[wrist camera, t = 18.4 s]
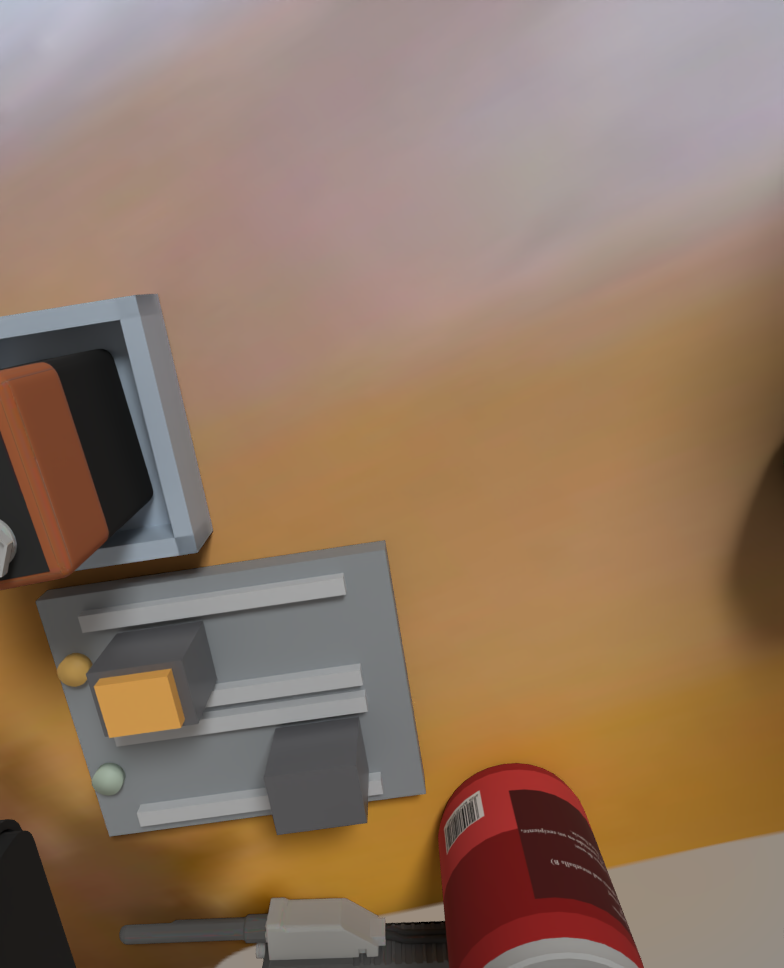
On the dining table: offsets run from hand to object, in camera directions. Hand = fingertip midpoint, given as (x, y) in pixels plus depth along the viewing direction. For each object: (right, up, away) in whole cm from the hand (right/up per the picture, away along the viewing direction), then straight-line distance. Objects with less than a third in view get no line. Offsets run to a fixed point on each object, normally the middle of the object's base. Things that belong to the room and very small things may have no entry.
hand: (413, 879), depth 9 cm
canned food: (+6, -13, +29) cm, 32 cm away
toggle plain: (-4, -8, +26) cm, 27 cm away
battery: (-13, +7, +22) cm, 27 cm away
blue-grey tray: (-14, +7, +23) cm, 28 cm away
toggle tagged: (-11, -3, +24) cm, 27 cm away
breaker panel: (-8, -5, +26) cm, 28 cm away
